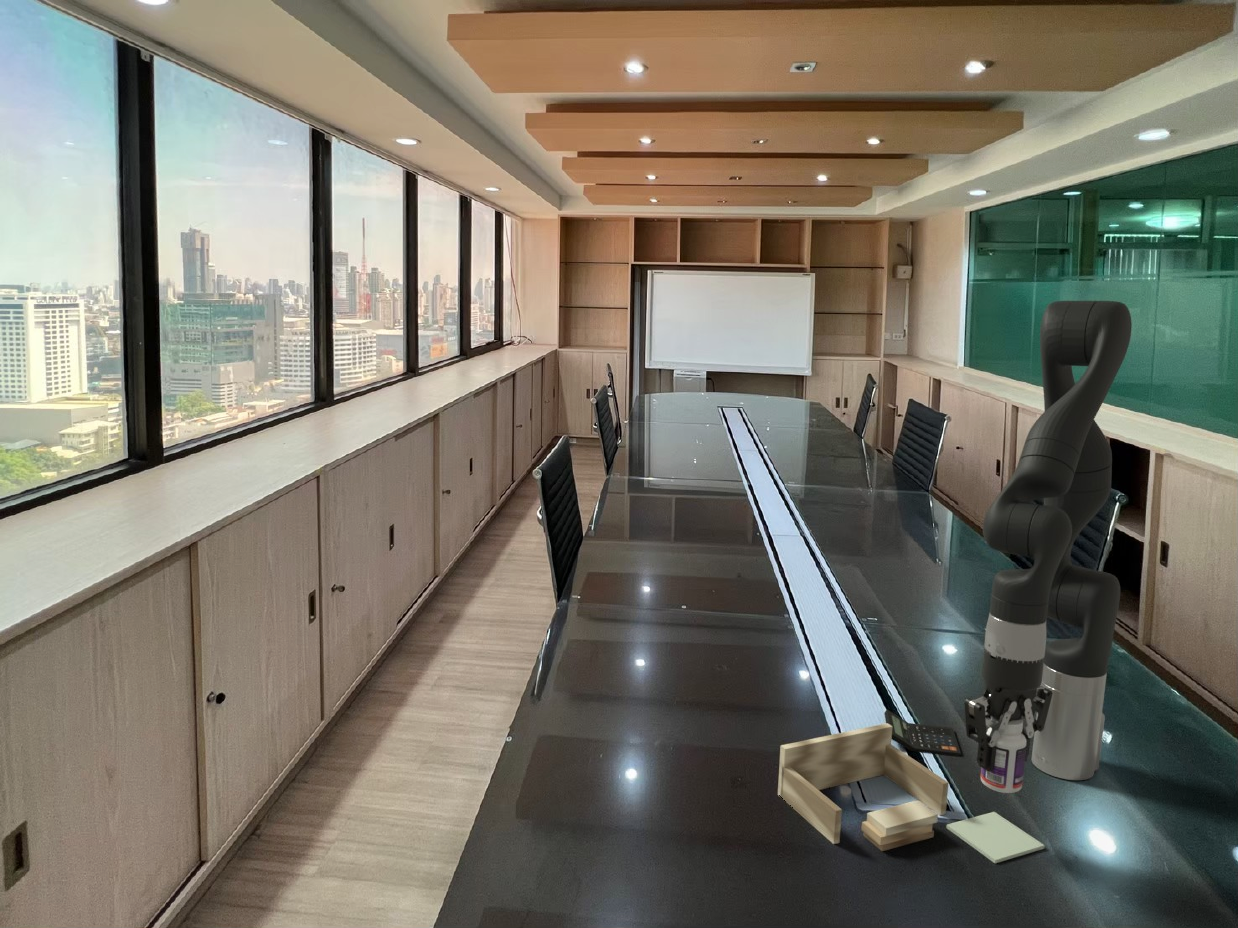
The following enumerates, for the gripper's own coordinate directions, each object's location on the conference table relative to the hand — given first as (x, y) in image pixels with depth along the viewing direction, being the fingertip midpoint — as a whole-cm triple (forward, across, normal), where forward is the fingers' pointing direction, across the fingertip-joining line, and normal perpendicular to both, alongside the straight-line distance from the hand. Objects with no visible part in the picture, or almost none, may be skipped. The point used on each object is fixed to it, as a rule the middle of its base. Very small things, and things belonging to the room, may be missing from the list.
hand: (1002, 763), depth 127 cm
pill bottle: (+3, 0, 0) cm, 3 cm away
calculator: (+12, -11, -27) cm, 31 cm away
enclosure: (+11, +12, -14) cm, 22 cm away
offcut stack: (+11, +12, -5) cm, 18 cm away
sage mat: (+11, 0, 0) cm, 11 cm away
